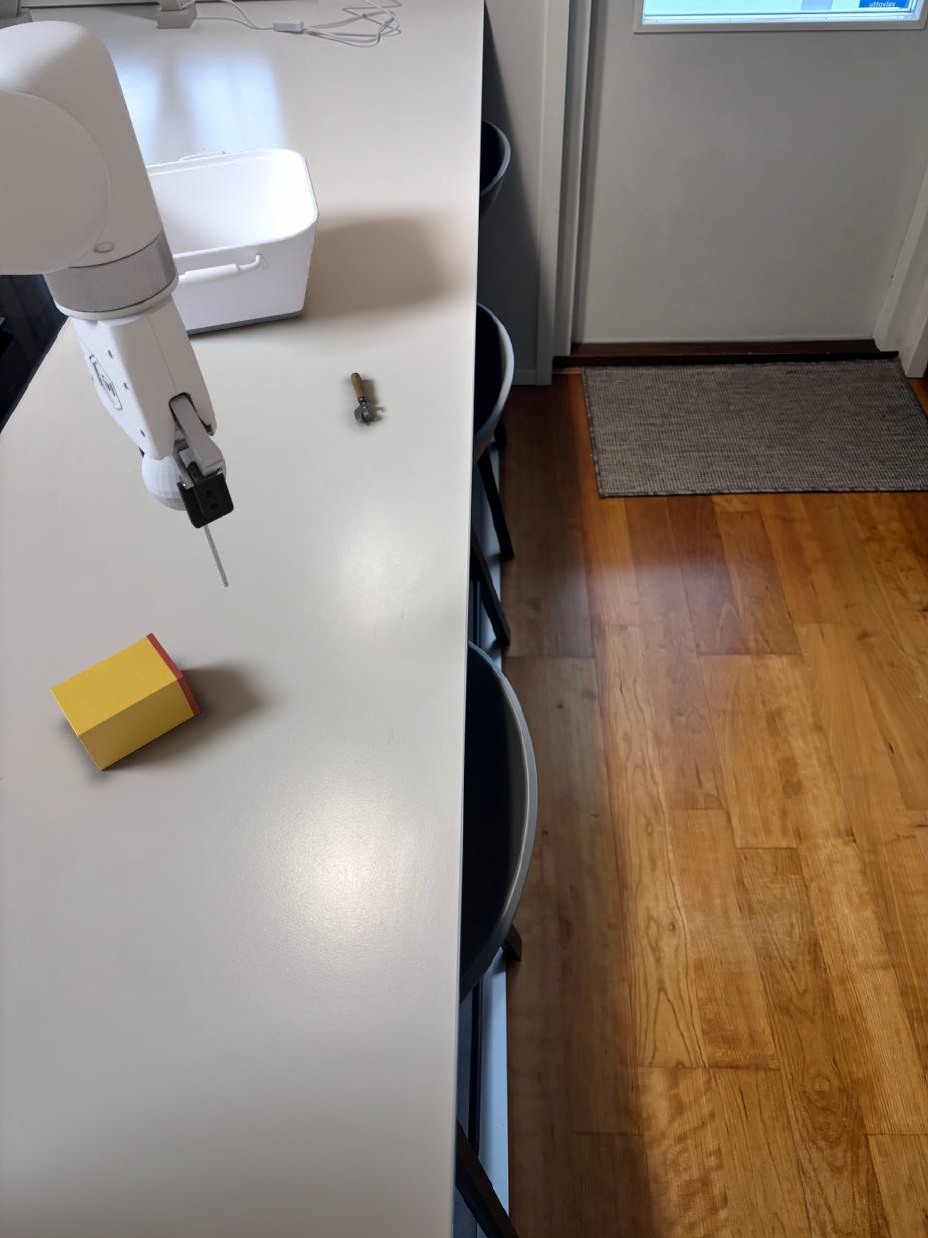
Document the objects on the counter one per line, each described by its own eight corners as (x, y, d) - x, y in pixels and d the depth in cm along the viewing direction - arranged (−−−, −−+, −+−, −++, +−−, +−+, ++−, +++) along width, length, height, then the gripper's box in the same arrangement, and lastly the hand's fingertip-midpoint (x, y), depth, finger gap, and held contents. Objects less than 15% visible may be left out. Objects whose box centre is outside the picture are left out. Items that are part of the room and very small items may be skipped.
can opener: (351, 380, 111) (350, 372, 110) (371, 377, 111) (369, 369, 110) (355, 427, 105) (354, 418, 104) (376, 424, 105) (375, 415, 104)
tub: (345, 346, 116) (328, 246, 107) (124, 384, 114) (86, 285, 104) (315, 223, 139) (299, 131, 129) (130, 252, 136) (99, 161, 127)
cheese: (100, 772, 77) (77, 736, 73) (72, 724, 80) (48, 688, 76) (201, 713, 80) (183, 675, 76) (170, 669, 84) (151, 632, 80)
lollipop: (186, 569, 79) (127, 421, 68) (255, 551, 80) (209, 403, 69) (194, 621, 75) (133, 474, 64) (267, 602, 76) (220, 453, 65)
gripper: (0, 237, 60) (99, 460, 74) (108, 348, 51) (199, 582, 64) (110, 198, 63) (186, 420, 76) (232, 297, 53) (294, 531, 67)
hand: (191, 492), depth 70 cm, fingers closed on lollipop, 6 cm apart
